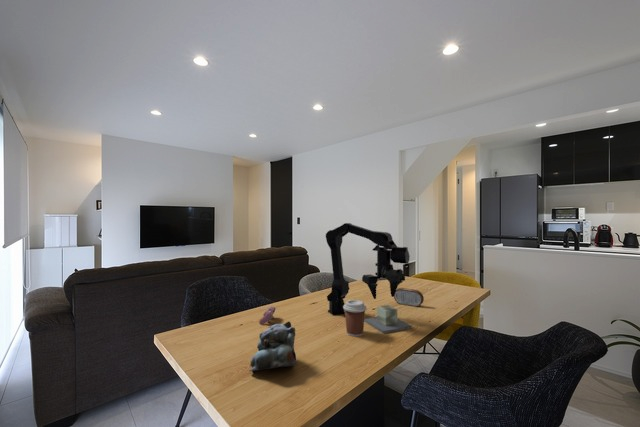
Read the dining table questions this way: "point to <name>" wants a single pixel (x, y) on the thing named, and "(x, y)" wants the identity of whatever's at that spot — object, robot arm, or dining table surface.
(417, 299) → the tin
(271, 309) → the pink frog figurine
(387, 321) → the sage block
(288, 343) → the lucky cat figurine
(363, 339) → the dining table surface
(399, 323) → the gray board
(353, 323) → the coffee cup
